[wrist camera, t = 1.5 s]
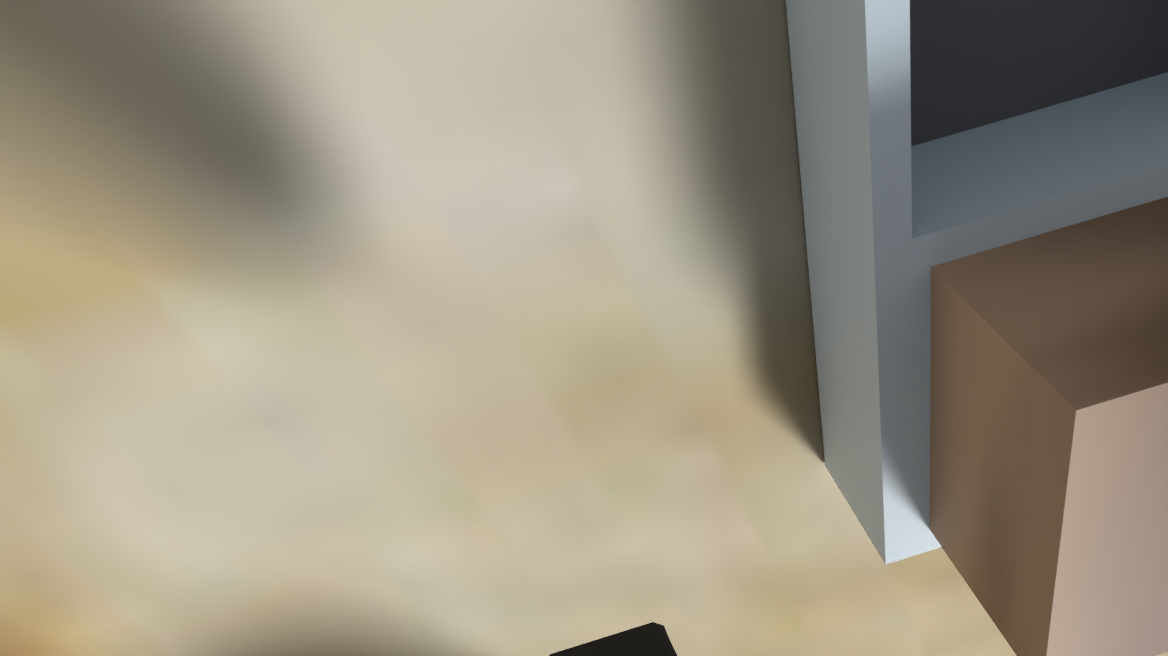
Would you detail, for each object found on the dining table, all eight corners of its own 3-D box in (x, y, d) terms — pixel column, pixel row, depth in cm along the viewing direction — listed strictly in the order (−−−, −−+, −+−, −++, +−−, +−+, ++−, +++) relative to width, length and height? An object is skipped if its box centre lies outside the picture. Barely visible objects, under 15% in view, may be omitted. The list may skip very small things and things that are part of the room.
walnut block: (1293, 159, 12) (1523, 273, 10) (1224, 439, 15) (1390, 581, 13) (930, 266, 12) (1075, 410, 10) (929, 529, 15) (1041, 691, 13)
